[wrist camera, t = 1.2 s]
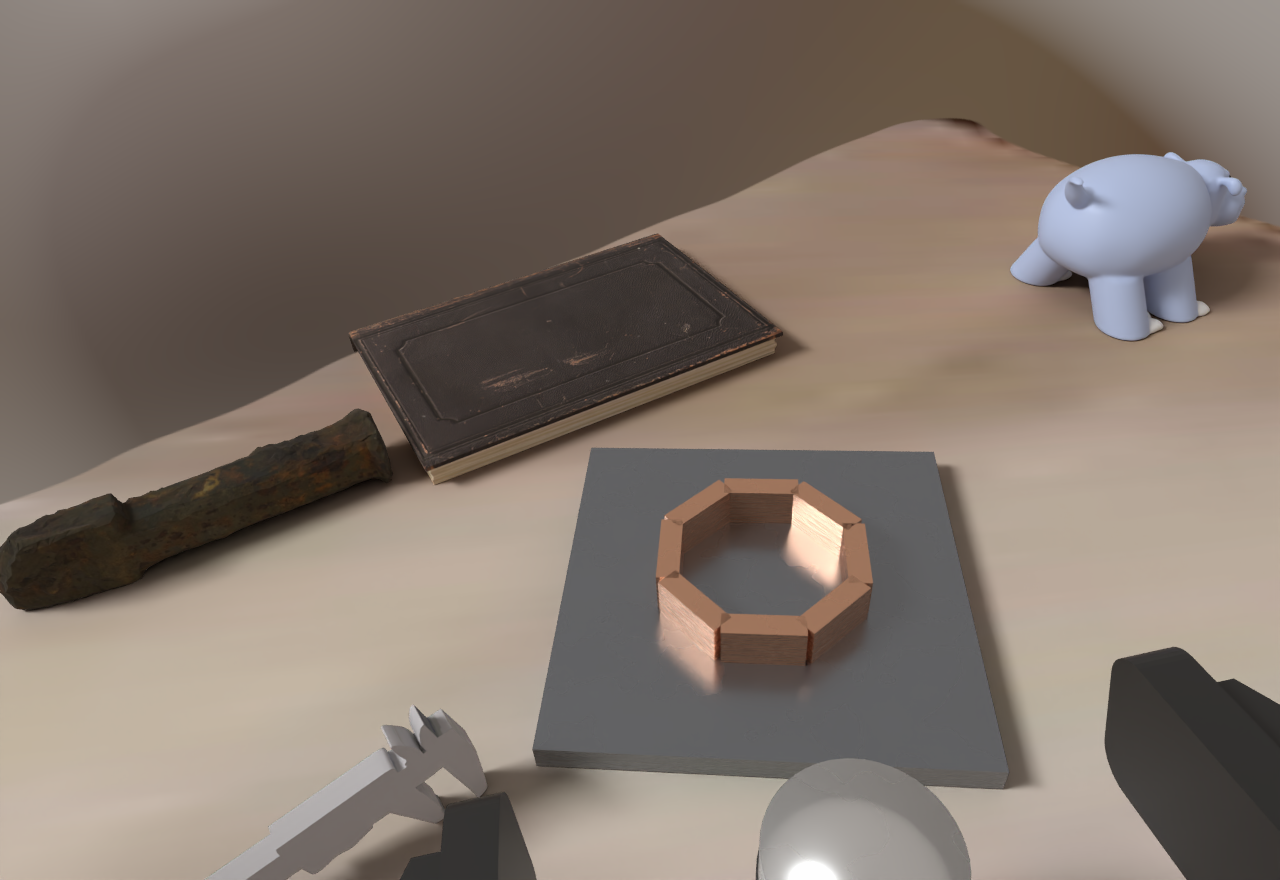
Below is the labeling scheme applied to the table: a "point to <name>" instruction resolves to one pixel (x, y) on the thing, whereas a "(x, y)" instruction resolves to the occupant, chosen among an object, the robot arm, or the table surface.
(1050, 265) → the hippopotamus toy
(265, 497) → the hand tool
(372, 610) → the table surface
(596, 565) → the grey square base plate
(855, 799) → the steel piston
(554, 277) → the hardcover book
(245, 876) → the caliper
